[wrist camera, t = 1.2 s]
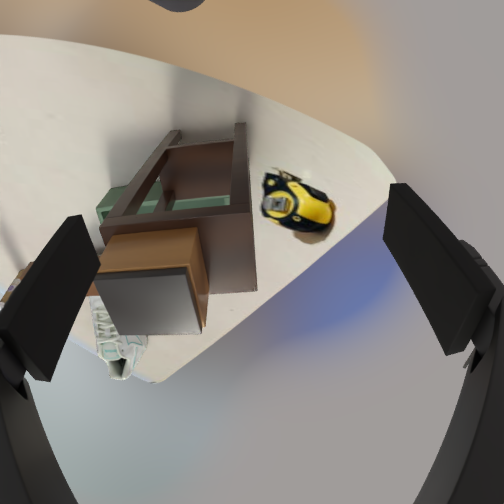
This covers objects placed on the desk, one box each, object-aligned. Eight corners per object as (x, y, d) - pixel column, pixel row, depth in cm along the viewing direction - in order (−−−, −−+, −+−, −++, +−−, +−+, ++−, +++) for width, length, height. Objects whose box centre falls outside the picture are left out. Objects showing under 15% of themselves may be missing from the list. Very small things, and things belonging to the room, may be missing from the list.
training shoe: (133, 243, 61) (111, 286, 50) (162, 351, 79) (152, 393, 68) (82, 243, 60) (54, 284, 49) (120, 348, 79) (107, 387, 68)
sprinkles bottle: (26, 267, 62) (0, 306, 51) (36, 281, 65) (13, 321, 54) (16, 271, 63) (-9, 309, 52) (26, 285, 66) (3, 323, 55)
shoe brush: (22, 245, 24) (-6, 283, 20) (197, 226, 24) (188, 271, 19) (47, 295, 27) (26, 333, 23) (209, 287, 27) (204, 335, 23)
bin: (110, 188, 53) (95, 208, 47) (230, 173, 53) (228, 192, 46) (127, 242, 60) (115, 266, 53) (237, 232, 59) (236, 256, 53)
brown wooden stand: (170, 131, 48) (98, 227, 23) (245, 122, 48) (250, 212, 23) (177, 173, 52) (125, 298, 28) (249, 166, 52) (257, 291, 28)
